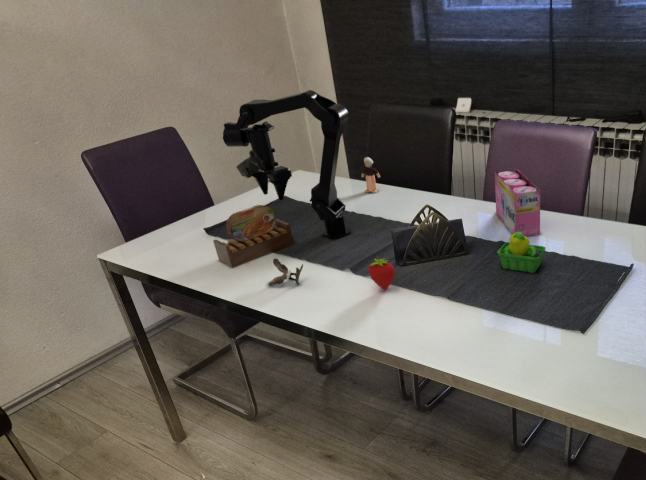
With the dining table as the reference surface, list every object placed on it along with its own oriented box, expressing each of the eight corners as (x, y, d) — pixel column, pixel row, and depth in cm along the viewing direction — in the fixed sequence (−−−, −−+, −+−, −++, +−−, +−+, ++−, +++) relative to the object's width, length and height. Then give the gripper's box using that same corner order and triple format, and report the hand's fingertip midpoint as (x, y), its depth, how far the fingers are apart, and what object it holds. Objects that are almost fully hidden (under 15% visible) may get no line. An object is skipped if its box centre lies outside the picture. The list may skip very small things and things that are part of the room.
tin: (234, 245, 174) (226, 217, 169) (229, 242, 176) (221, 215, 171) (279, 229, 183) (272, 202, 178) (274, 226, 185) (267, 200, 180)
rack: (294, 243, 185) (289, 223, 182) (232, 267, 173) (225, 247, 170) (280, 237, 190) (275, 218, 187) (219, 260, 178) (212, 240, 175)
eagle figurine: (307, 271, 165) (276, 265, 166) (300, 258, 158) (268, 251, 159) (298, 295, 162) (266, 289, 163) (290, 283, 155) (258, 276, 156)
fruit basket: (546, 263, 162) (547, 224, 155) (535, 278, 155) (536, 237, 149) (506, 258, 166) (506, 219, 160) (495, 272, 159) (493, 232, 153)
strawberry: (386, 298, 151) (381, 262, 146) (366, 291, 155) (360, 255, 150) (402, 289, 155) (398, 253, 149) (382, 282, 159) (377, 247, 153)
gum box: (494, 211, 197) (492, 170, 190) (517, 208, 198) (516, 167, 191) (515, 238, 177) (514, 193, 170) (541, 234, 178) (541, 190, 171)
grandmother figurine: (361, 193, 221) (355, 159, 215) (364, 190, 225) (359, 155, 218) (381, 193, 220) (376, 158, 213) (384, 189, 223) (379, 155, 216)
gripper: (221, 148, 179) (235, 198, 188) (252, 157, 168) (266, 210, 176) (254, 139, 186) (266, 188, 194) (286, 148, 174) (298, 200, 183)
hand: (273, 197), depth 187 cm, fingers open, 9 cm apart
